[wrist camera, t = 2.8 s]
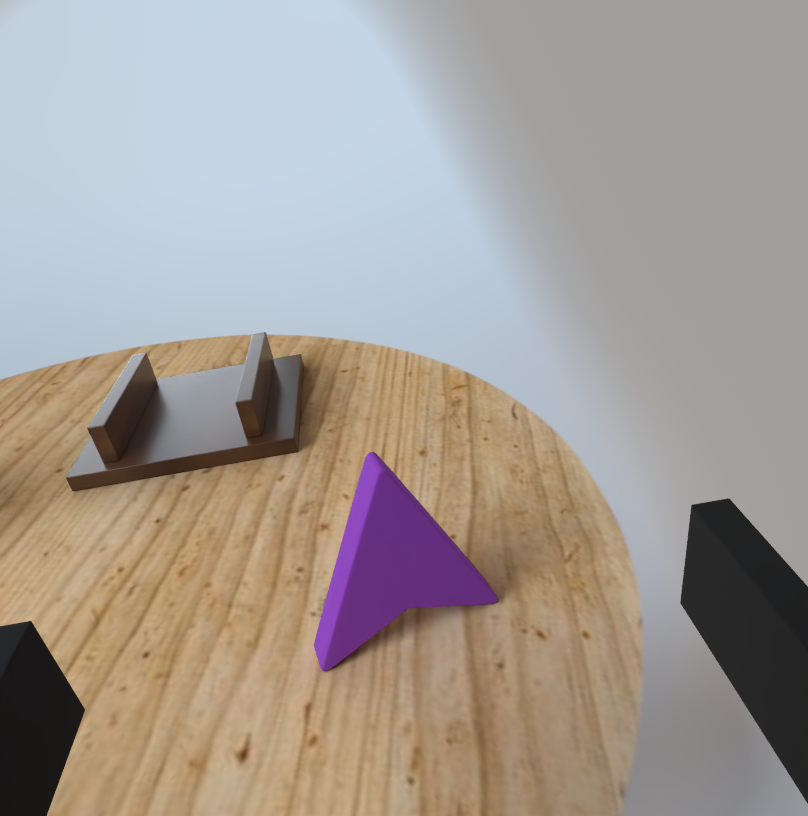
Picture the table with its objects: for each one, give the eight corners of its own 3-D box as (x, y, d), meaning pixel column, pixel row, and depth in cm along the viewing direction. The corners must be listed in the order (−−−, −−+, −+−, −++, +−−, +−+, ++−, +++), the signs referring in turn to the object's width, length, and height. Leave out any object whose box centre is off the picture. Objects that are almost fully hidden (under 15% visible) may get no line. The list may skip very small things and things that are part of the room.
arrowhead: (425, 695, 32) (250, 656, 27) (413, 670, 34) (245, 628, 28) (544, 542, 31) (381, 468, 25) (526, 522, 32) (369, 449, 27)
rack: (303, 365, 58) (293, 322, 55) (297, 451, 45) (284, 400, 43) (126, 396, 57) (108, 354, 55) (72, 491, 45) (47, 441, 43)
